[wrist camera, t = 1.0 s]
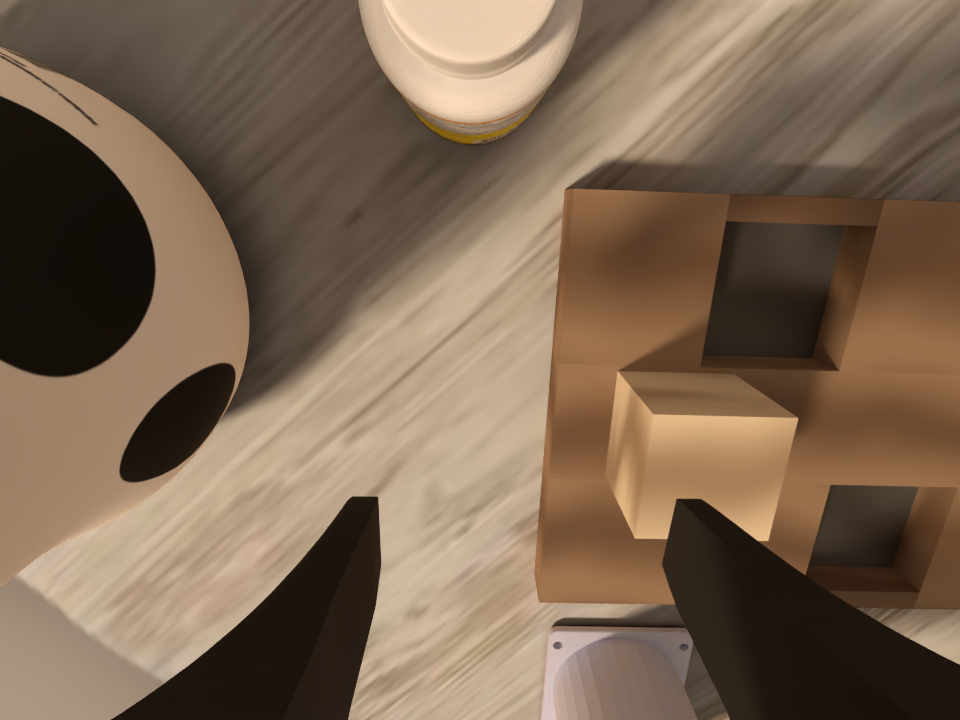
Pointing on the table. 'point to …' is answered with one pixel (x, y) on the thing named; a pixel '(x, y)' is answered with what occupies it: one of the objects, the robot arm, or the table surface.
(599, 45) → the table surface
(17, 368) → the milk container
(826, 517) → the wooden board with holes
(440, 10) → the supplement bottle
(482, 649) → the table surface
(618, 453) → the block
